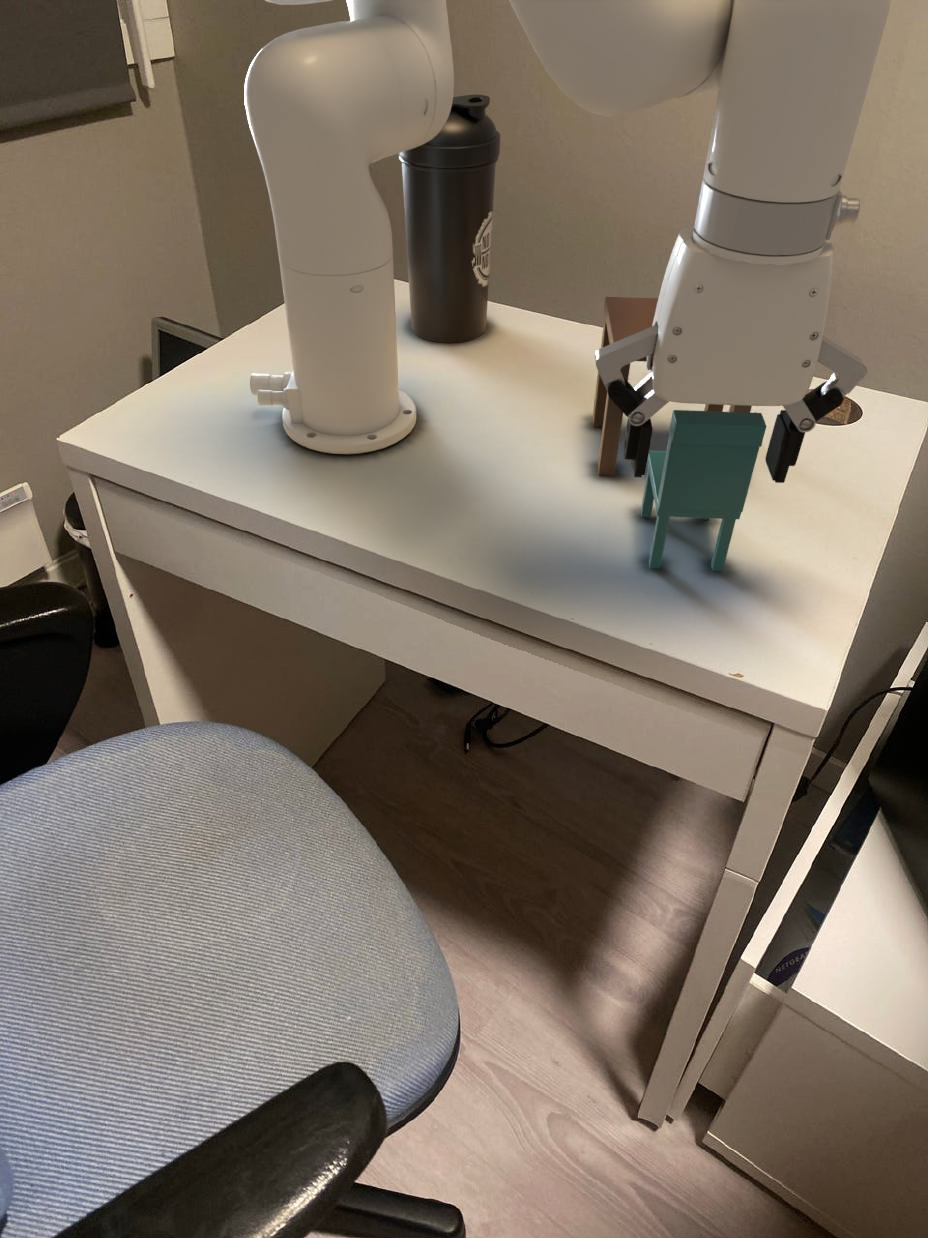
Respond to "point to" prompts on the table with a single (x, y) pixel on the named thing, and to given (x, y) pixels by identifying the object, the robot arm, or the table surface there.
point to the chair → (702, 474)
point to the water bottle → (451, 223)
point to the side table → (624, 373)
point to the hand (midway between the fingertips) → (705, 469)
